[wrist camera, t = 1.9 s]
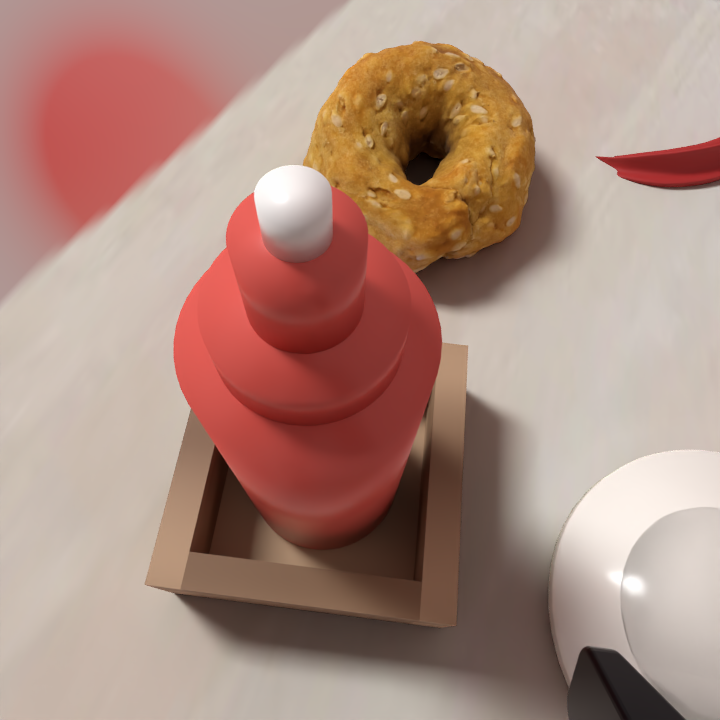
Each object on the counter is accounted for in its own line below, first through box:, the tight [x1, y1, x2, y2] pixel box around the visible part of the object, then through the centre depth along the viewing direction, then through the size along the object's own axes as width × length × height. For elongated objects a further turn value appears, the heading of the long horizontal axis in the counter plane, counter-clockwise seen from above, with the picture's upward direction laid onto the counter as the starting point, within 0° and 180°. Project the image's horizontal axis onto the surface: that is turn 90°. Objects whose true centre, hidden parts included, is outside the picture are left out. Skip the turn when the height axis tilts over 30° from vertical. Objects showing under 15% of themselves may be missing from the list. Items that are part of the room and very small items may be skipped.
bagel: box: [303, 41, 535, 273], centre depth 24 cm, size 10×11×5 cm
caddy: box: [145, 343, 468, 628], centre depth 19 cm, size 9×9×3 cm
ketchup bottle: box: [174, 165, 442, 550], centre depth 14 cm, size 5×5×14 cm
